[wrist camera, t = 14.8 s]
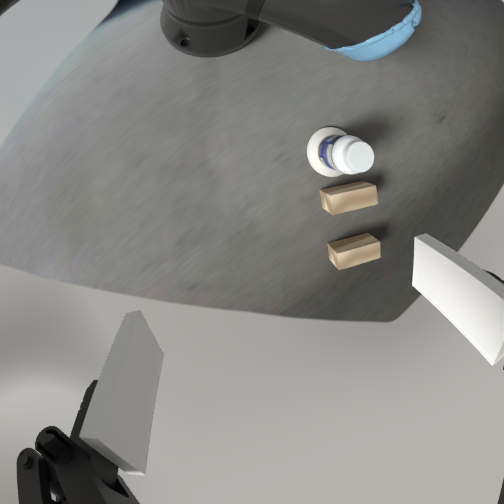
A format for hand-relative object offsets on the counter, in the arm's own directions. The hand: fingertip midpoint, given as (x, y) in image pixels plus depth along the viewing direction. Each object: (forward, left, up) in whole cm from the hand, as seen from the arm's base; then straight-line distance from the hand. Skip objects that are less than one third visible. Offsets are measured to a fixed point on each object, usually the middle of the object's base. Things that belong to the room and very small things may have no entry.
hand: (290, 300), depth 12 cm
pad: (-2, +15, -32) cm, 35 cm away
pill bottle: (-2, +15, -31) cm, 35 cm away
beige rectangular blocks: (+10, +16, -32) cm, 37 cm away
